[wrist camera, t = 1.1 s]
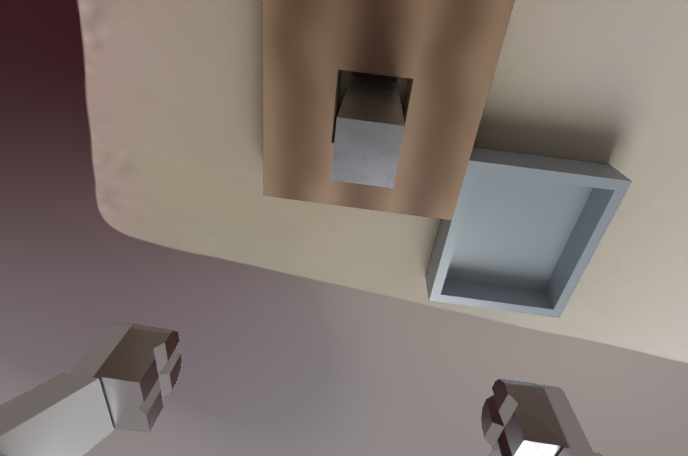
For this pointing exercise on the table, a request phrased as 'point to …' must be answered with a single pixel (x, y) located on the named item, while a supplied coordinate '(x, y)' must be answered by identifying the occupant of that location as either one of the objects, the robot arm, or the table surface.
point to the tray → (522, 231)
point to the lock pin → (368, 133)
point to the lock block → (383, 59)
